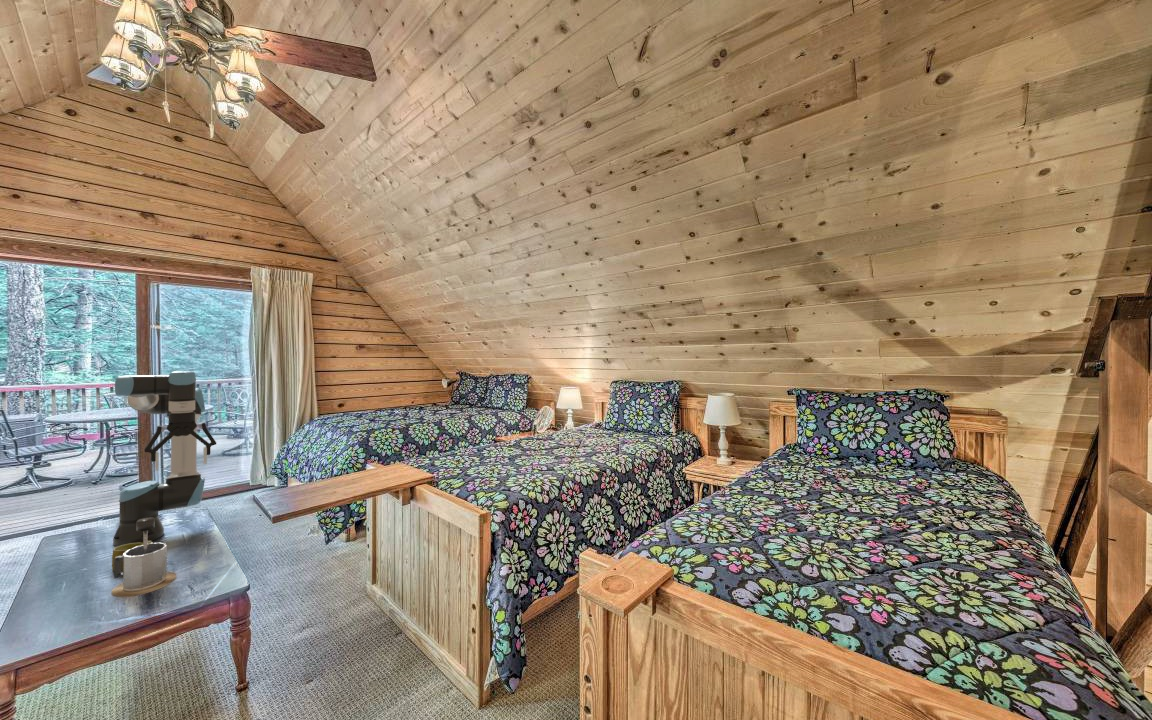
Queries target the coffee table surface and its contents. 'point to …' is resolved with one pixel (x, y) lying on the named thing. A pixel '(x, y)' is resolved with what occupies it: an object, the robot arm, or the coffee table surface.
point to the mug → (121, 549)
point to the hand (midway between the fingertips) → (181, 466)
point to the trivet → (120, 593)
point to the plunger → (145, 530)
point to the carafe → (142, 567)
